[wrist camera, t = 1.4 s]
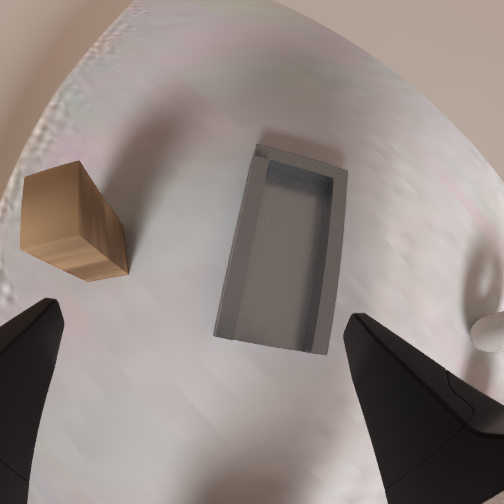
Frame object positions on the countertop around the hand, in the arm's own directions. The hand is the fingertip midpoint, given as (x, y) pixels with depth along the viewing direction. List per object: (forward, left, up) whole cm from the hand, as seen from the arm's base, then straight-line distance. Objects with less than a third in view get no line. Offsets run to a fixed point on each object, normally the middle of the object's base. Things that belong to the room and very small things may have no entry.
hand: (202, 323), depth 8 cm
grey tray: (+8, -1, -14) cm, 16 cm away
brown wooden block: (-1, +9, -14) cm, 17 cm away
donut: (+16, -25, -14) cm, 33 cm away
